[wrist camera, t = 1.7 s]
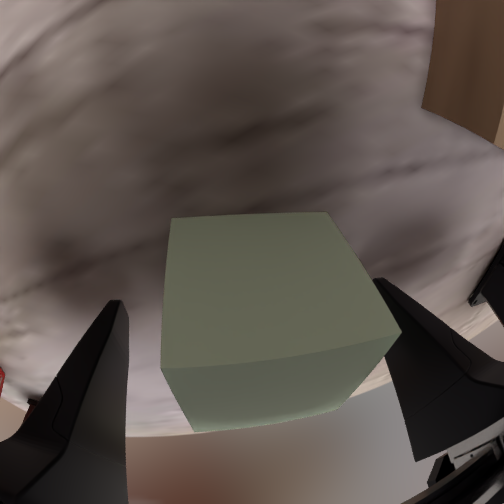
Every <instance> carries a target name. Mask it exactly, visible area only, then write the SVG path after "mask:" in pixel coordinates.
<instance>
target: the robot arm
mask: <svg viewBox="0 0 504 504" xmlns="http://www.w3.org/2000/svg"><path fill="white" fill-rule="evenodd" d="M372 281H373V283H374V285H375V286H376V288H377V290H378V291H379V293H380V295H381V296H382V298H383V300H384V301H385V303H386V305H387V307H388V308H389V310H390V312H391V314H392V315H393V317H394V319H395V321H396V322H397V324H398V326H399V328H400V330H401V332H402V333H401V334H400V336H399V337H398V338H397V340H396V341H395V342H394V344H393V345H392V346H391V348H390V349H389V350H388V352H387V353H386V354H385V355H384V357H385V360H386V363H387V366H388V369H389V372H390V375H391V378H392V381H393V384H394V387H395V390H396V393H397V396H398V400H399V403H400V406H401V410H402V413H403V417H404V420H405V424H406V428H407V432H408V436H409V439H410V443H411V447H412V452H413V455H414V459H415V462H417V461H420V460H422V459H425V458H427V457H430V456H432V455H434V454H437V453H439V452H441V451H444V450H447V453H445V454H444V455H442V456H440V457H439V458H437V459H436V461H435V463H434V466H433V469H432V471H431V474H430V476H429V479H428V481H427V484H428V487H429V488H428V489H426V490H424V491H423V492H421V493H419V494H418V495H416V496H414V497H412V498H411V499H409V500H407V501H405V502H403V503H401V504H503V503H504V362H501V361H497V360H495V359H493V358H491V357H490V356H489V355H487V354H486V353H484V352H483V351H482V350H480V349H479V348H477V347H476V346H474V345H473V344H472V343H470V342H469V341H467V340H466V339H465V338H463V337H462V336H461V335H459V334H458V333H457V332H456V331H454V330H453V329H452V328H450V327H449V326H448V325H447V324H445V323H444V322H443V321H442V320H440V319H439V318H438V317H436V316H435V315H434V314H432V313H431V312H430V311H428V310H427V309H426V308H425V307H423V306H422V305H421V304H419V303H418V302H417V301H415V300H414V299H412V298H411V297H410V296H408V295H407V294H406V293H404V292H403V291H402V290H400V289H399V288H397V287H396V286H395V285H393V284H392V283H391V282H389V281H388V280H386V279H385V278H383V277H380V278H374V279H373V280H372ZM486 301H487V303H488V304H489V306H490V307H491V308H492V310H493V311H494V313H495V314H496V316H497V317H498V319H499V320H500V322H501V324H502V325H503V327H504V244H503V246H502V248H501V250H500V251H499V253H498V255H497V257H496V259H495V260H494V262H493V264H492V265H491V267H490V269H489V270H488V272H487V274H486V275H485V277H484V279H483V280H482V282H481V283H480V285H479V286H478V288H477V289H476V291H475V292H474V294H473V295H472V297H471V298H470V300H469V301H468V303H469V305H470V306H471V307H473V306H475V305H478V304H481V303H483V302H486ZM128 368H129V317H128V314H127V311H126V309H125V307H124V304H123V302H122V301H121V300H110V301H109V302H108V303H107V304H106V306H105V307H104V308H103V310H102V311H101V312H100V314H99V315H98V316H97V318H96V319H95V320H94V322H93V323H92V324H91V326H90V327H89V328H88V330H87V331H86V333H85V334H84V335H83V337H82V338H81V340H80V341H79V342H78V344H77V345H76V347H75V348H74V350H73V351H72V353H71V354H70V356H69V357H68V358H67V360H66V361H65V363H64V364H63V366H62V367H61V369H60V371H59V372H58V374H57V377H55V378H54V380H53V381H52V383H51V384H50V386H49V387H48V389H47V390H46V392H45V394H44V395H43V396H42V398H41V399H40V401H39V402H38V403H37V405H36V406H35V408H34V409H33V410H32V412H31V413H30V414H29V416H28V417H27V418H26V420H25V421H24V422H23V424H22V425H21V427H20V428H19V429H18V431H17V432H16V433H15V434H14V435H12V436H11V437H10V438H8V439H6V440H4V441H2V442H0V504H128V493H127V478H126V457H125V455H126V453H125V425H126V396H127V380H128Z"/></svg>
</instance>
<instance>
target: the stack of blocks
mask: <svg viewBox="0 0 504 504" xmlns="http://www.w3.org/2000/svg"><path fill="white" fill-rule="evenodd" d="M4 378H5V374H4V372H3V371H2V369H1V368H0V396H1V392H2V388H3V383H4Z"/></svg>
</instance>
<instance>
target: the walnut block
mask: <svg viewBox="0 0 504 504" xmlns="http://www.w3.org/2000/svg"><path fill="white" fill-rule="evenodd" d="M421 108H423V109H426V110H428V111H430V112H433V113H435V114H437V115H439V116H442V117H444V118H446V119H448V120H450V121H452V122H454V123H456V124H458V125H460V126H462V127H464V128H466V129H468V130H470V131H472V132H473V133H475V134H477V135H479V136H481V137H482V138H484V139H486V140H487V141H489V142H491V143H493V144H494V145H496V146H498V147H500V148H501V149H503V150H504V0H436V15H435V27H434V37H433V45H432V52H431V59H430V65H429V71H428V77H427V82H426V88H425V92H424V97H423V102H422V106H421Z"/></svg>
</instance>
